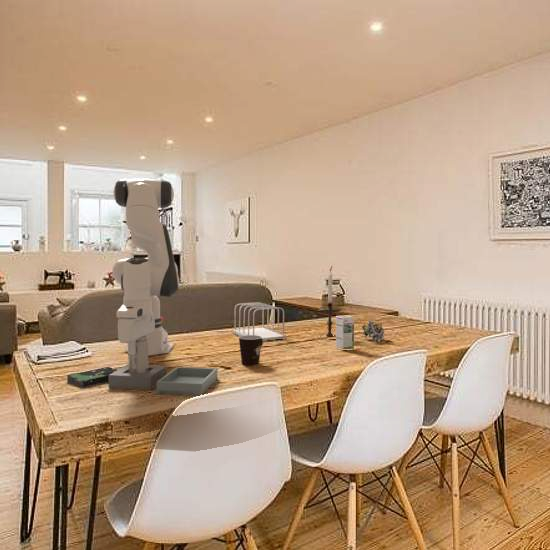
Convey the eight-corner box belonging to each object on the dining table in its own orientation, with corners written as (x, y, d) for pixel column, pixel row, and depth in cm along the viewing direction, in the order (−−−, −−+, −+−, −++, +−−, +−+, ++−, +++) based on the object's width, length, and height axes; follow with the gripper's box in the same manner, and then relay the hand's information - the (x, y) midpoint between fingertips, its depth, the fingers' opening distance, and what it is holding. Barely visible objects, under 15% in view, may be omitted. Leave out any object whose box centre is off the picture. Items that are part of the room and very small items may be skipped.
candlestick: (342, 336, 235) (342, 265, 233) (339, 340, 225) (340, 266, 222) (319, 335, 238) (320, 264, 235) (316, 339, 227) (317, 265, 225)
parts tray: (177, 377, 162) (176, 366, 161) (217, 378, 160) (217, 368, 160) (156, 393, 144) (156, 381, 144) (201, 395, 142) (201, 383, 142)
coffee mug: (245, 367, 175) (245, 340, 174) (234, 362, 182) (234, 336, 181) (273, 363, 181) (273, 337, 180) (261, 359, 188) (261, 333, 187)
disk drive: (108, 374, 167) (66, 383, 156) (108, 366, 167) (66, 374, 156) (125, 379, 161) (83, 389, 149) (125, 371, 161) (82, 380, 149)
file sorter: (232, 333, 242) (232, 303, 241) (263, 331, 250) (263, 301, 249) (252, 343, 220) (252, 309, 219) (286, 339, 227) (286, 307, 226)
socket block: (128, 376, 163) (127, 364, 163) (166, 377, 161) (166, 365, 161) (108, 387, 149) (108, 375, 149) (150, 389, 147) (150, 376, 147)
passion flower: (378, 353, 222) (374, 335, 215) (358, 346, 229) (354, 328, 222) (390, 337, 228) (387, 319, 221) (371, 330, 235) (367, 312, 228)
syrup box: (342, 351, 202) (343, 317, 202) (335, 348, 208) (335, 315, 207) (354, 350, 205) (354, 316, 204) (346, 347, 210) (346, 314, 209)
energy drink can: (151, 383, 154) (150, 336, 154) (132, 386, 151) (132, 339, 150) (144, 378, 159) (143, 334, 158) (126, 381, 156) (125, 336, 155)
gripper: (141, 304, 164) (142, 344, 165) (113, 312, 144) (114, 358, 145) (159, 305, 164) (159, 345, 164) (133, 313, 143) (134, 359, 144)
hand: (138, 351), depth 155 cm, fingers closed on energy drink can, 6 cm apart
